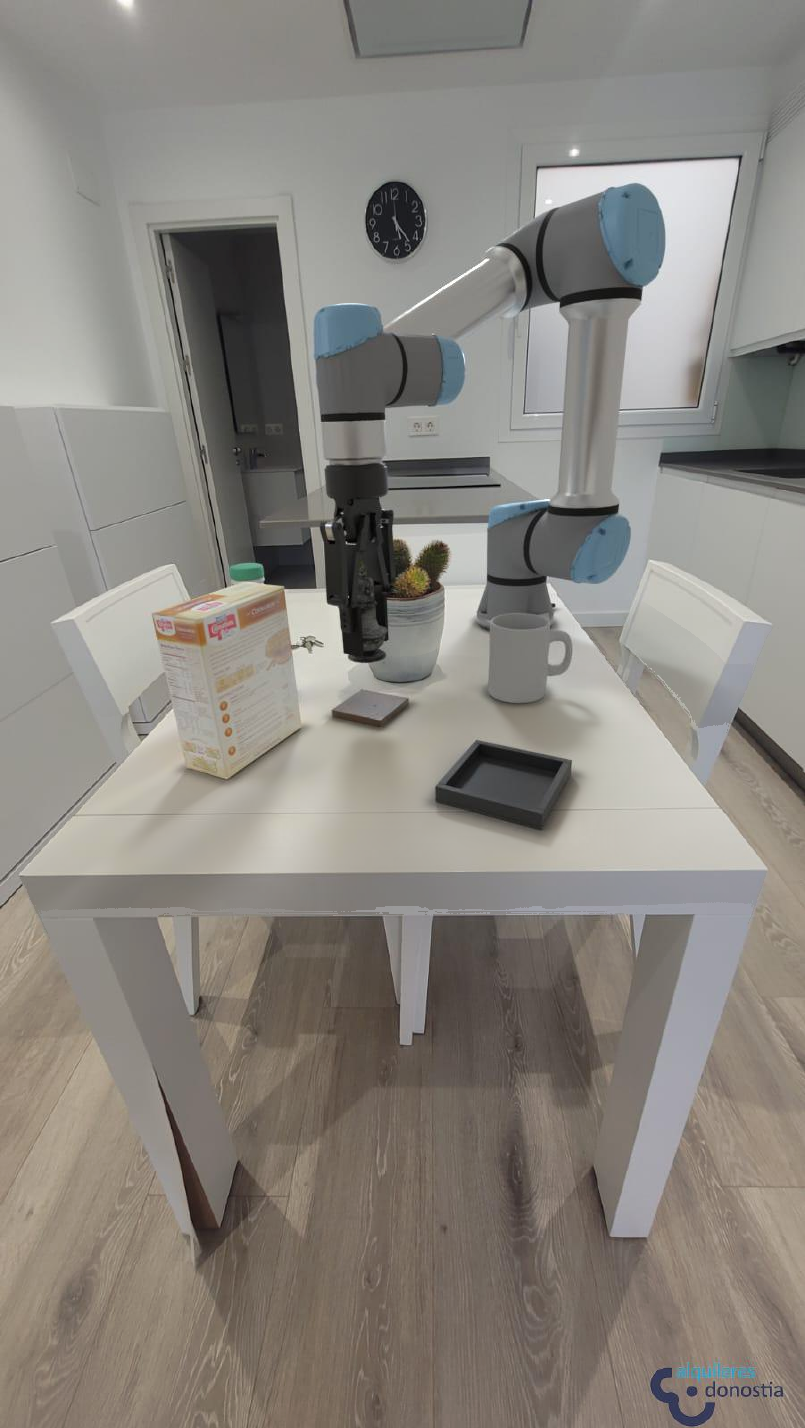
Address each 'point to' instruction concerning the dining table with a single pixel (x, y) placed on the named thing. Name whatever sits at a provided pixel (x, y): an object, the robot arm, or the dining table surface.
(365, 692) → the coaster
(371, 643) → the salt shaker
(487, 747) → the pan
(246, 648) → the coffeecake box
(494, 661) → the mug
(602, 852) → the dining table surface
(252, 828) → the dining table surface
